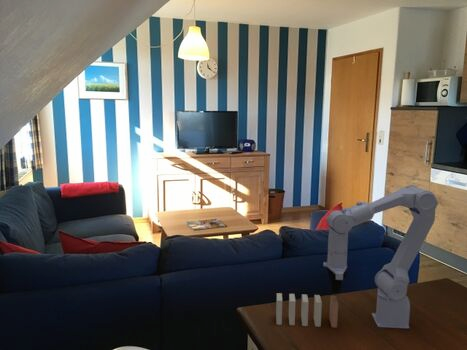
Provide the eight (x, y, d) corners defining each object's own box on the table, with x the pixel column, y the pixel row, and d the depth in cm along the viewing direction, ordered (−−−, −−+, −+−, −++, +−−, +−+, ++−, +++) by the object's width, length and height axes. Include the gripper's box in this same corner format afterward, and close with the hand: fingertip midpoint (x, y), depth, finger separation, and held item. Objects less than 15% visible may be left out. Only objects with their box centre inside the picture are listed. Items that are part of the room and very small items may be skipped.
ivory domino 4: (318, 318, 129) (319, 295, 128) (320, 326, 124) (321, 302, 123) (313, 318, 129) (314, 294, 128) (315, 326, 124) (316, 302, 123)
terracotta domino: (331, 327, 124) (333, 303, 122) (329, 318, 129) (330, 295, 127) (336, 327, 124) (338, 303, 122) (334, 319, 129) (335, 295, 127)
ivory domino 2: (293, 317, 130) (294, 293, 128) (294, 325, 125) (295, 301, 123) (288, 316, 130) (289, 293, 128) (289, 325, 125) (290, 301, 123)
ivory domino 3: (306, 317, 129) (307, 294, 128) (307, 326, 124) (308, 302, 123) (301, 317, 129) (301, 294, 128) (302, 325, 124) (303, 301, 123)
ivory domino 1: (281, 316, 130) (281, 293, 129) (281, 324, 125) (282, 300, 124) (276, 316, 130) (276, 293, 129) (276, 324, 125) (277, 300, 124)
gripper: (322, 241, 130) (320, 281, 132) (326, 258, 116) (324, 302, 118) (344, 243, 129) (342, 282, 131) (351, 259, 115) (348, 304, 117)
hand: (335, 292), depth 124 cm, fingers closed
